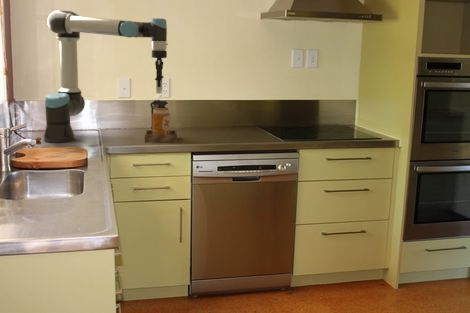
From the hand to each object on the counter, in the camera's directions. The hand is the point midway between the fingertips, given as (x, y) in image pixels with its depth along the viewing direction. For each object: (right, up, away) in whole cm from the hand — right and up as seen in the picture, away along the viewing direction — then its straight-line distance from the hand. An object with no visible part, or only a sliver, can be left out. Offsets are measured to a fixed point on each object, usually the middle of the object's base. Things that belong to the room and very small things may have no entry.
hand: (159, 92), depth 280 cm
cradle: (0, -24, +5) cm, 25 cm away
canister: (-1, -24, +6) cm, 24 cm away
